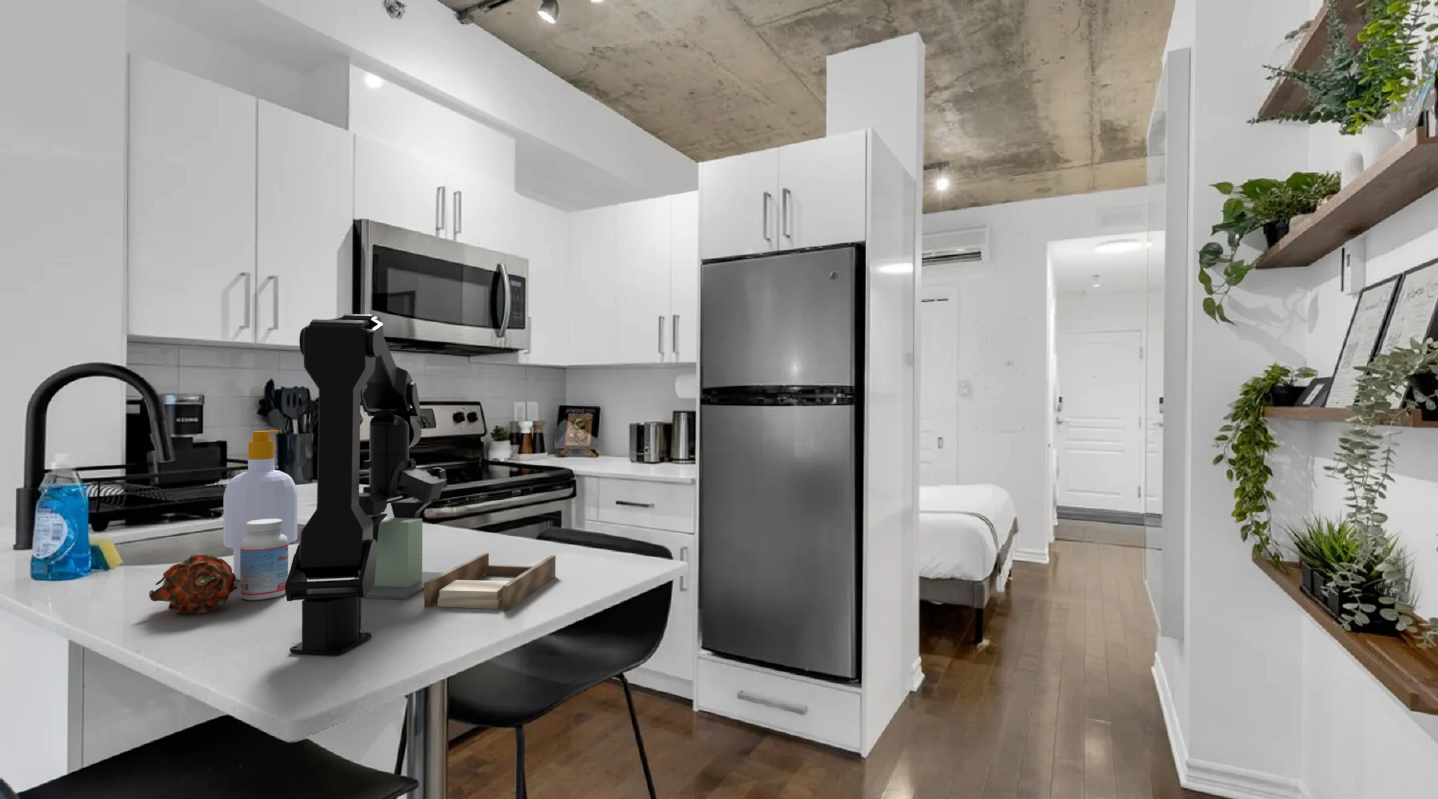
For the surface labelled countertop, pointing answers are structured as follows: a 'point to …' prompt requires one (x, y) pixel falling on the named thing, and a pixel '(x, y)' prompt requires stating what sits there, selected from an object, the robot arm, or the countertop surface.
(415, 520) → the upright mint green block
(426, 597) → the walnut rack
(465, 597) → the offcut stack
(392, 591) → the charcoal mat
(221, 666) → the countertop surface
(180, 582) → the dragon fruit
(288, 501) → the soap bottle
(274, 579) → the pill bottle
